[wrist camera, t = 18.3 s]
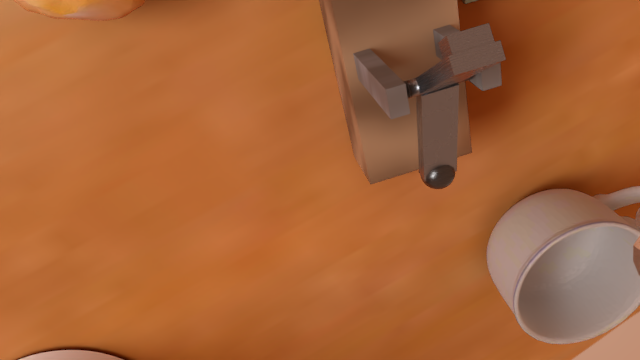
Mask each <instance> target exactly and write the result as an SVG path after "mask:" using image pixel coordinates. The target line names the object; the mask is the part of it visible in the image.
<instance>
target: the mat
mask: <svg viewBox="0 0 640 360" xmlns="http://www.w3.org/2000/svg"><path fill="white" fill-rule="evenodd" d="M474 1H477V0H463V3H465V4H467V3H470V2H474Z"/></svg>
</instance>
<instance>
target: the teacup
mask: <svg viewBox="0 0 640 360" xmlns="http://www.w3.org/2000/svg"><path fill="white" fill-rule="evenodd" d="M639 202H640V186H634V187H629V188H625V189H622V190H619V191H616V192H613V193H610V194H597V195H594V196H593V197H591V196H589V195H587V194H585V193H582V192H579V191H576V190H571V189H550V190H545V191H541V192H538V193H535V194H532V195H530V196H528V197H526V198H524V199H522V200H521V201H519V202H518V203H516V204H515V205H514V206H512V207H511V208H510V209H509V210H508V211H507V212H506V213H505V214H504V215H503V216H502V217H501V218H500V220H499V221H498V222H497V224H496V226H495V227H494V229H493V231H492V233H491V236H490V239H489V242H488V246H487V265H488V269H489V272H490V275H491V277H492V280H493V282H494V284H495V285H496V287H497V289H498V291H499V292H500V294H501V295H502V297H503V299H504V300H505V302H506V303H507V305H508V306H509V307H510V309H511V310H512V312H513V313H514V315H515V317H516V320H517V322H518V323H519V325H520V326H521V328H522V329H523V330H524V331H525V332H526V333H527V334H529V335H530V336H531V337H533V338H535V339H537V340H540V341H543V342H546V343H551V344H570V343H576V342H581V341H586V340H588V339H591V338H594V337H596V336H599V335H601V334H603V333H606V332H607V331H609V330H610V329H612V328H614V327H615V326H617V325H618V324H620V323H621V322H622V321H624V320H625V319H626V318H627V317H628V316H629V315H630V314H631V313H632V312H634V311H635V310H636V309H637V307H638V306H639V305H640V276H639V274H638V272H637V269H636V267H635V264H634V262H633V245H634V244H635V242H636V241H637V239H638V237H639V236H640V230H639V229H638V228H637V227H636V226H635V220H636V219H633V218H630V217H627V216H624V217H622V216H619V215H618V214H616V213H615V212H614V210H616V209H618V208H621V207H624V206H627V205H630V204H634V203H639Z"/></svg>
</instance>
